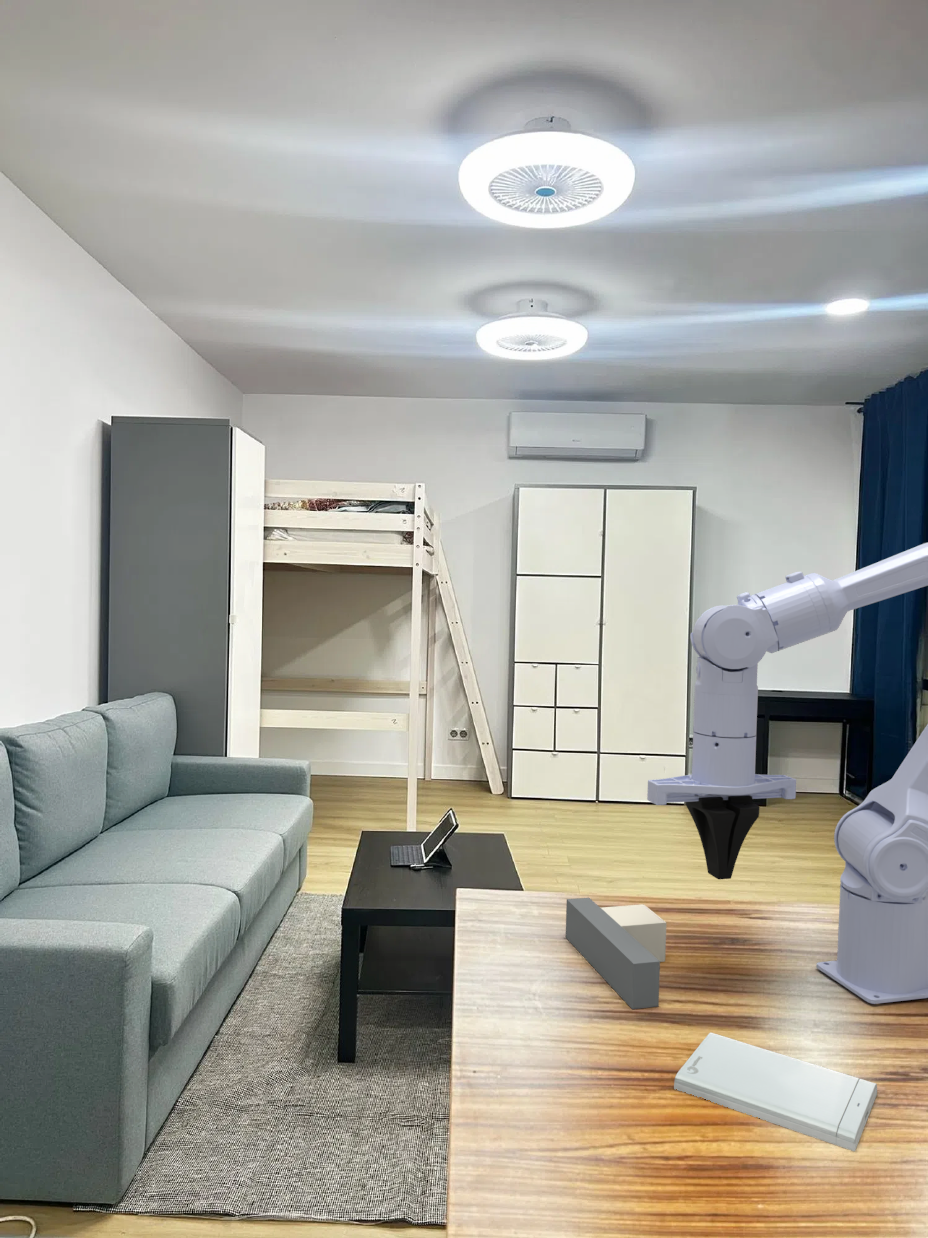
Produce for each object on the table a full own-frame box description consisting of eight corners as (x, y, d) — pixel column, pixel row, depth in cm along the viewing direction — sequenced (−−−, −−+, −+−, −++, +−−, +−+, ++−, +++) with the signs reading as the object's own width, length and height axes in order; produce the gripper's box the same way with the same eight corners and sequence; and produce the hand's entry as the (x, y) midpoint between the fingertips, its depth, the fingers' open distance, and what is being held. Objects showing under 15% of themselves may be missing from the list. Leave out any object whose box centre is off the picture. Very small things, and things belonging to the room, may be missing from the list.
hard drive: (673, 1075, 66) (855, 1135, 59) (710, 1029, 73) (877, 1079, 66) (673, 1097, 66) (854, 1160, 59) (710, 1050, 73) (876, 1101, 66)
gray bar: (588, 935, 95) (589, 897, 94) (658, 1006, 79) (660, 961, 79) (565, 937, 94) (566, 899, 94) (632, 1009, 78) (633, 964, 78)
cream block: (642, 942, 93) (643, 904, 93) (665, 962, 89) (666, 922, 88) (597, 946, 92) (598, 907, 92) (617, 967, 87) (619, 926, 87)
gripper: (768, 724, 91) (763, 858, 91) (635, 727, 87) (630, 866, 88) (811, 737, 84) (806, 881, 85) (669, 740, 80) (664, 891, 81)
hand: (719, 875), depth 86 cm, fingers closed
